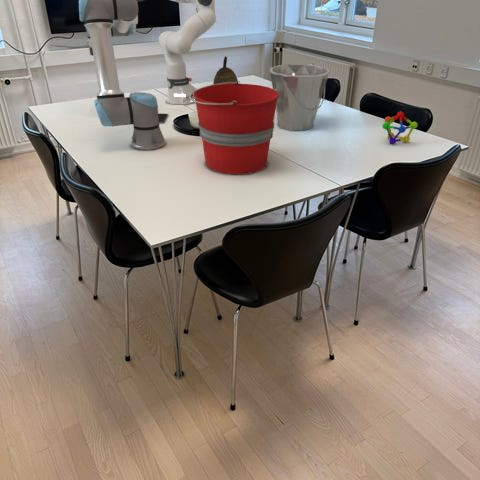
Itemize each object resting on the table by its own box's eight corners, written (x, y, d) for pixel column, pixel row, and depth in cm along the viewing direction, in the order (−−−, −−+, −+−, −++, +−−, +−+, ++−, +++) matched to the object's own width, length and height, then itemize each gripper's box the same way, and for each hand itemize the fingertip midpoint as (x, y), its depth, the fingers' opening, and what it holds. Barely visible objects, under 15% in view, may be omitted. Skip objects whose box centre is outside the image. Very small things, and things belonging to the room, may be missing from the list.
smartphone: (149, 121, 235) (154, 113, 247) (150, 122, 235) (155, 114, 248) (163, 121, 235) (167, 113, 247) (163, 123, 235) (168, 114, 248)
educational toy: (377, 146, 209) (379, 114, 202) (384, 138, 219) (386, 107, 211) (411, 149, 202) (415, 116, 195) (417, 141, 212) (420, 109, 204)
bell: (227, 105, 294) (202, 96, 282) (238, 66, 289) (213, 55, 277) (243, 108, 280) (217, 98, 268) (255, 66, 275) (229, 55, 263)
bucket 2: (296, 138, 215) (301, 78, 201) (255, 124, 234) (256, 68, 219) (335, 125, 232) (342, 70, 217) (294, 113, 251) (297, 61, 236)
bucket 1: (198, 147, 204) (194, 79, 188) (274, 148, 203) (277, 80, 187) (188, 177, 175) (183, 101, 159) (277, 179, 174) (281, 102, 158)
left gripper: (86, 43, 239) (93, 83, 250) (91, 51, 220) (98, 94, 231) (100, 42, 241) (106, 82, 253) (107, 50, 222) (113, 93, 233)
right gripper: (122, 4, 278) (125, 29, 286) (127, 7, 262) (130, 33, 269) (132, 4, 280) (134, 28, 288) (138, 7, 264) (141, 32, 272)
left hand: (102, 88), depth 242 cm, fingers open, 13 cm apart
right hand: (132, 30), depth 278 cm, fingers open, 8 cm apart
